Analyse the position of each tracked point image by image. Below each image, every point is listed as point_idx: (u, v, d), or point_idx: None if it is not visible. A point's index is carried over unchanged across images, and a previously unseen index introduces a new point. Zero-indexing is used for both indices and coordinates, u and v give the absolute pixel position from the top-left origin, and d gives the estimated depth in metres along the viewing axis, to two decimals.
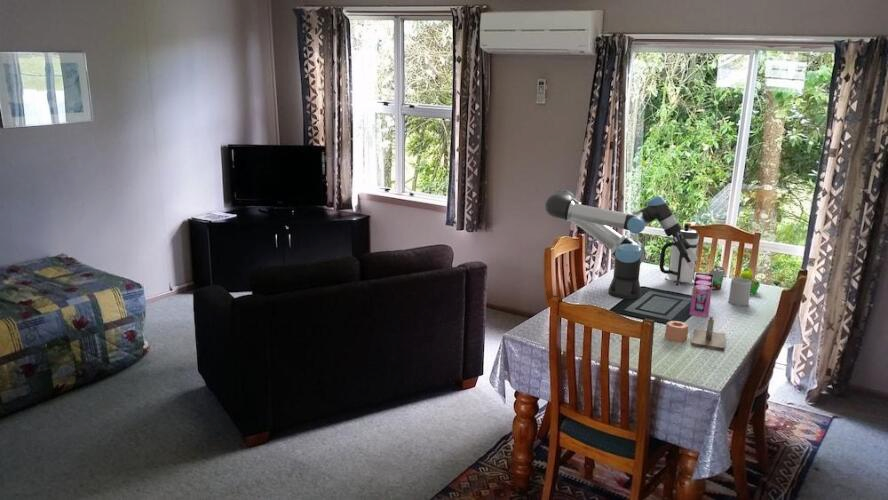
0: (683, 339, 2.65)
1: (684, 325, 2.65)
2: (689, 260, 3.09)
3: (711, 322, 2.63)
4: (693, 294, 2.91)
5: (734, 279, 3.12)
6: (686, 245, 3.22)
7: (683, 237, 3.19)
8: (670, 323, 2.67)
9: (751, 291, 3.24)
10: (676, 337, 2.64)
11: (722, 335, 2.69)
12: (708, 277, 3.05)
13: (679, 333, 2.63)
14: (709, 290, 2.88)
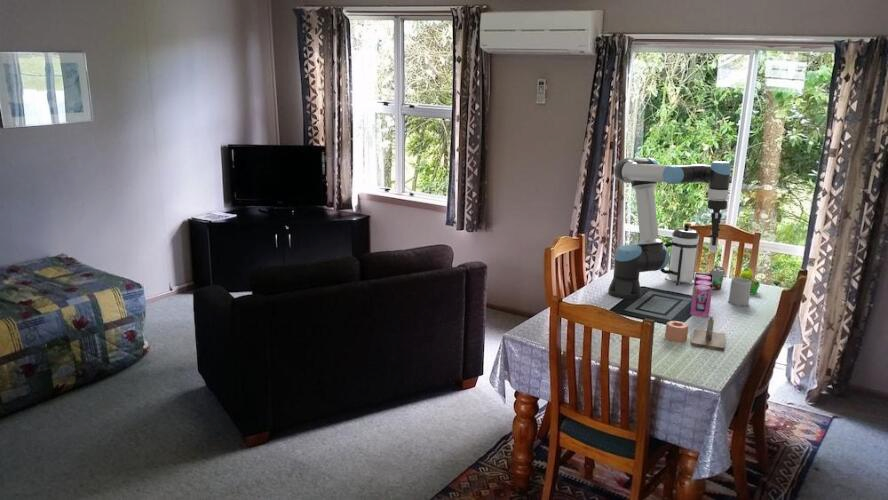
0: (683, 339, 2.65)
1: (684, 325, 2.65)
2: (715, 243, 2.74)
3: (711, 322, 2.63)
4: (694, 294, 2.91)
5: (734, 279, 3.12)
6: None
7: None
8: (670, 323, 2.67)
9: (751, 291, 3.24)
10: (676, 337, 2.64)
11: (722, 335, 2.69)
12: (708, 277, 3.05)
13: (679, 333, 2.63)
14: (710, 290, 2.88)
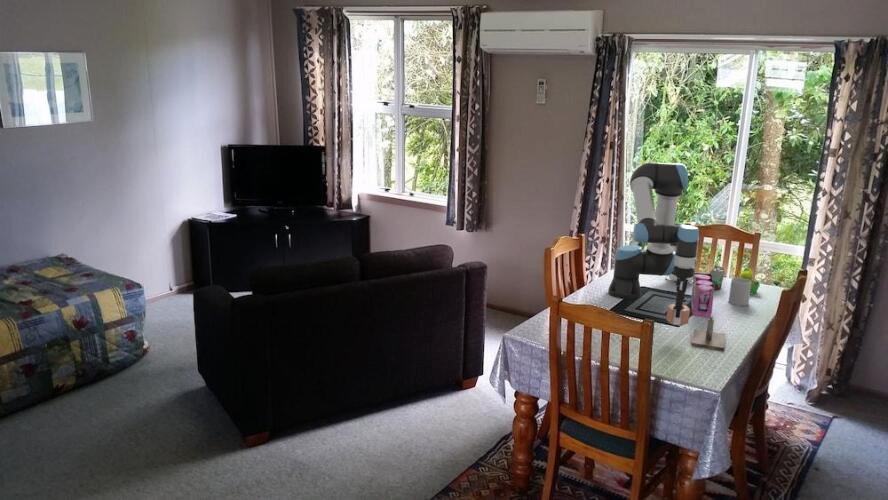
0: (685, 322, 2.63)
1: (686, 308, 2.64)
2: (678, 316, 2.60)
3: (711, 322, 2.63)
4: (696, 294, 2.91)
5: (734, 279, 3.12)
6: None
7: (686, 285, 2.64)
8: (672, 306, 2.66)
9: (751, 291, 3.24)
10: None
11: (722, 335, 2.69)
12: (707, 277, 3.06)
13: (681, 316, 2.62)
14: (712, 290, 2.88)
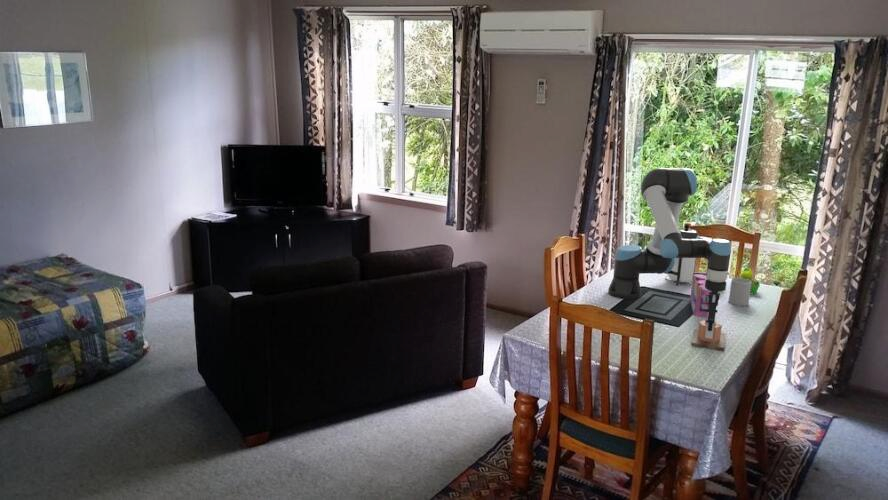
0: (716, 338, 2.62)
1: (717, 324, 2.63)
2: (711, 329, 2.57)
3: None
4: (698, 295, 2.91)
5: (734, 279, 3.12)
6: None
7: None
8: (703, 323, 2.65)
9: (751, 291, 3.24)
10: None
11: (722, 335, 2.69)
12: None
13: (713, 333, 2.61)
14: None
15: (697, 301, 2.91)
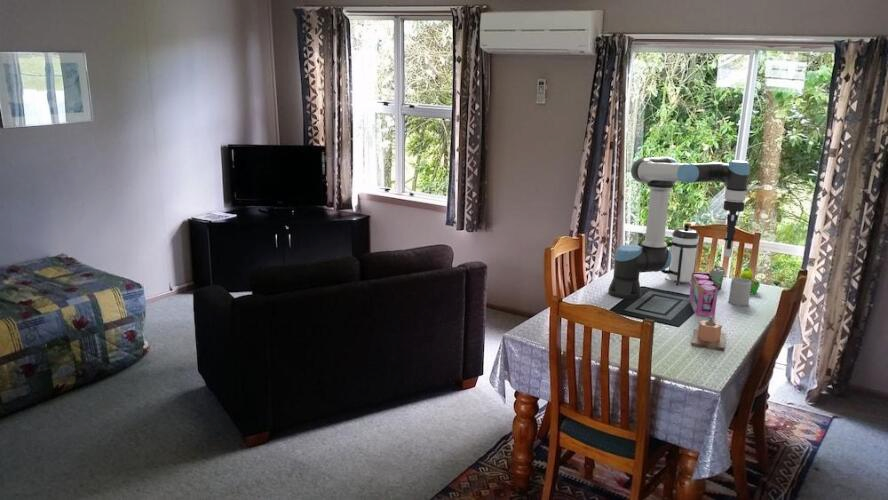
0: (716, 338, 2.62)
1: (717, 324, 2.63)
2: (730, 247, 2.62)
3: (711, 322, 2.63)
4: (700, 295, 2.90)
5: (734, 279, 3.12)
6: None
7: None
8: (703, 323, 2.65)
9: (751, 291, 3.24)
10: (709, 337, 2.62)
11: (722, 335, 2.69)
12: (706, 276, 3.06)
13: (713, 333, 2.61)
14: (716, 290, 2.88)
15: (699, 301, 2.91)
